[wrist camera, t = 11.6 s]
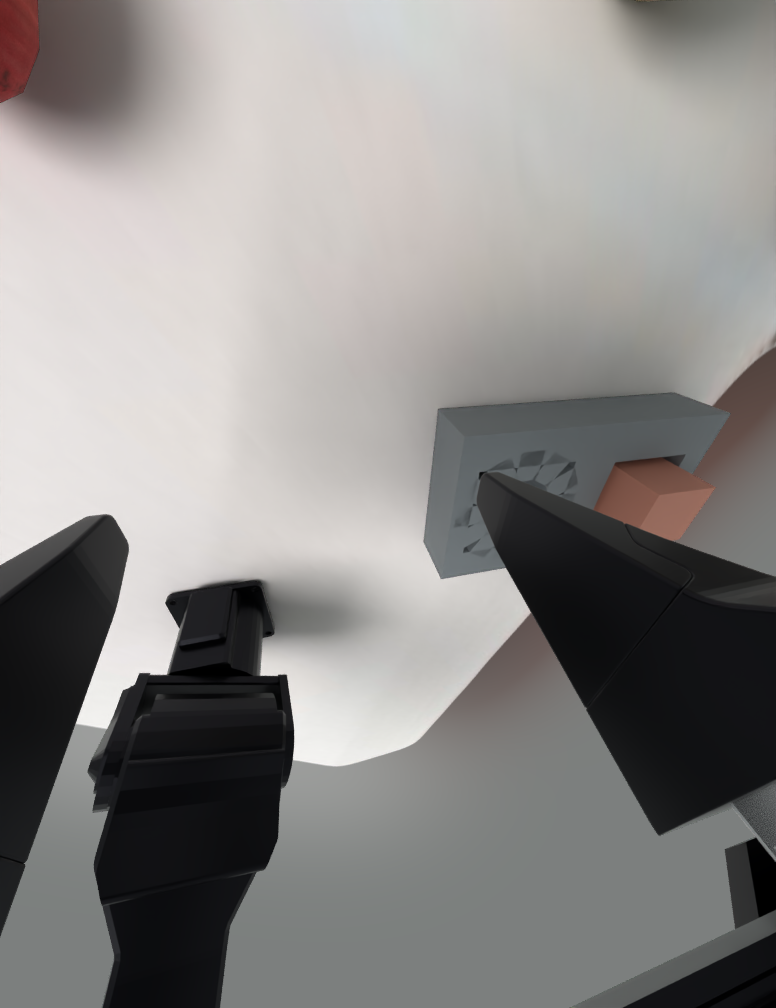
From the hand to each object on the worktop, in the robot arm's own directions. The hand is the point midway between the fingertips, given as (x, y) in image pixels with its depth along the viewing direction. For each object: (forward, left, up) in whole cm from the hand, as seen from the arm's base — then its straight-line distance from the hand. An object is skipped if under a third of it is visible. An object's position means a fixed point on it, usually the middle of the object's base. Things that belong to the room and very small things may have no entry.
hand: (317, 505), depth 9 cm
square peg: (-8, -21, -12) cm, 26 cm away
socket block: (-8, -17, -12) cm, 22 cm away
